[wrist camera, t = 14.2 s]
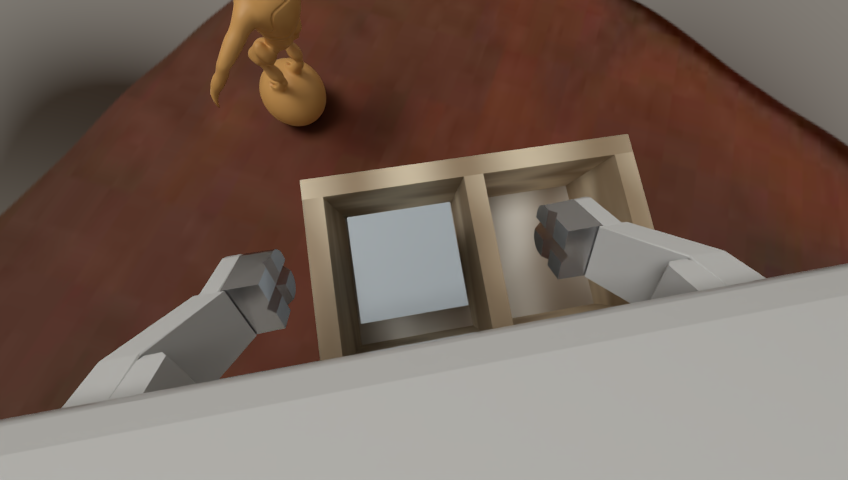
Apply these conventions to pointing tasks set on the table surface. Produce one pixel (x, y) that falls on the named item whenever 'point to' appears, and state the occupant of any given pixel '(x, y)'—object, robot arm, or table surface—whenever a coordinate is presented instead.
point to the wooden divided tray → (468, 237)
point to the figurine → (273, 60)
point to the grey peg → (406, 262)
